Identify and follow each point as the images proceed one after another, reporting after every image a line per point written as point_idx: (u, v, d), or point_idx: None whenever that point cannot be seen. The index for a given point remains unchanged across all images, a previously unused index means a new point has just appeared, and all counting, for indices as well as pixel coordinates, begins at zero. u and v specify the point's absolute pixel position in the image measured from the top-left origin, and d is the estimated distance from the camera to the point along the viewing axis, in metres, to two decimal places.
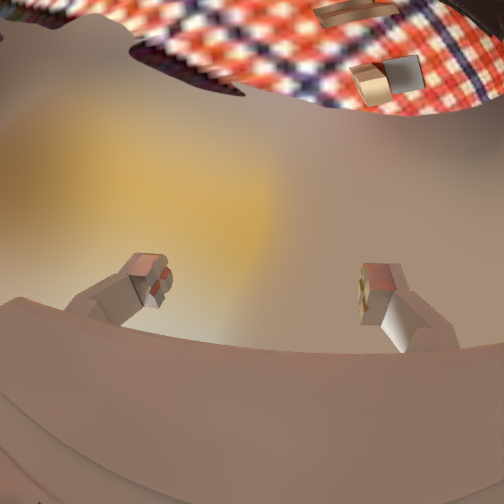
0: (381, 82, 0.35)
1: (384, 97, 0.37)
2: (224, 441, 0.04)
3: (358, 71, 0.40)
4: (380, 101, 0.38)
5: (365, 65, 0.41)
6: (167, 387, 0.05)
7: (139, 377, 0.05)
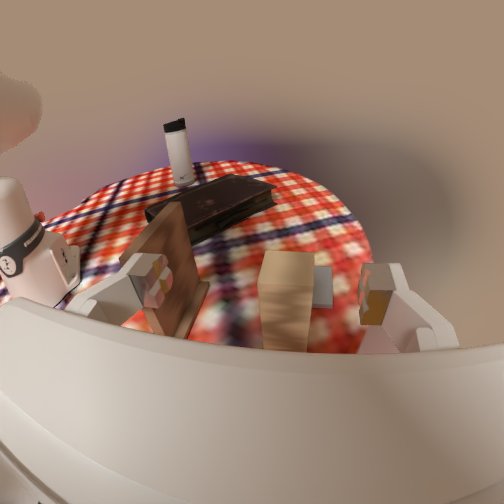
0: (273, 257, 0.27)
1: (302, 260, 0.26)
2: (224, 441, 0.04)
3: None
4: (308, 267, 0.26)
5: None
6: (167, 387, 0.05)
7: (139, 377, 0.05)
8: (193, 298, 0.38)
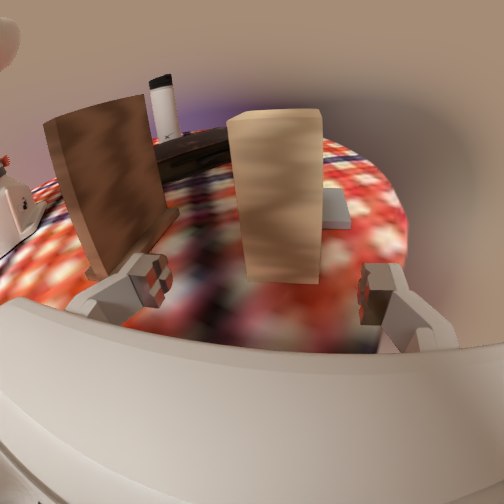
0: (256, 111, 0.16)
1: (301, 110, 0.15)
2: (224, 442, 0.04)
3: None
4: (311, 112, 0.14)
5: None
6: (167, 387, 0.05)
7: (139, 377, 0.05)
8: (154, 224, 0.27)
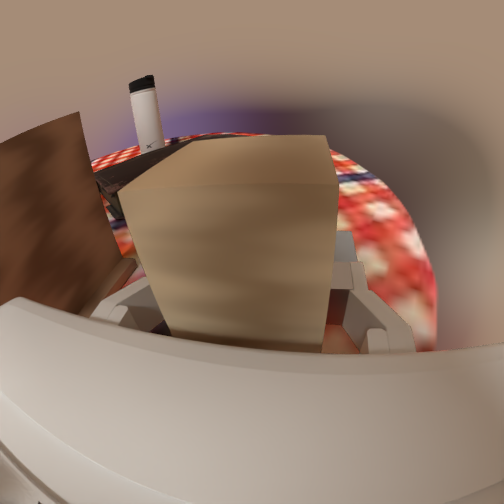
0: (204, 145, 0.09)
1: (292, 143, 0.08)
2: (224, 442, 0.04)
3: None
4: (312, 150, 0.07)
5: None
6: (168, 387, 0.05)
7: (139, 377, 0.05)
8: (102, 285, 0.19)
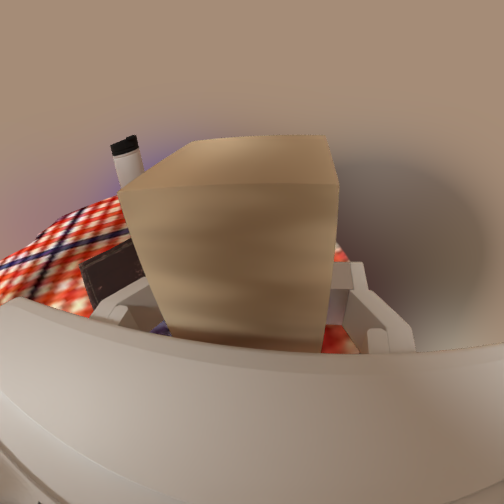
0: (204, 145, 0.09)
1: (292, 143, 0.08)
2: (224, 441, 0.04)
3: None
4: (312, 150, 0.07)
5: None
6: (167, 387, 0.05)
7: (139, 377, 0.05)
8: None
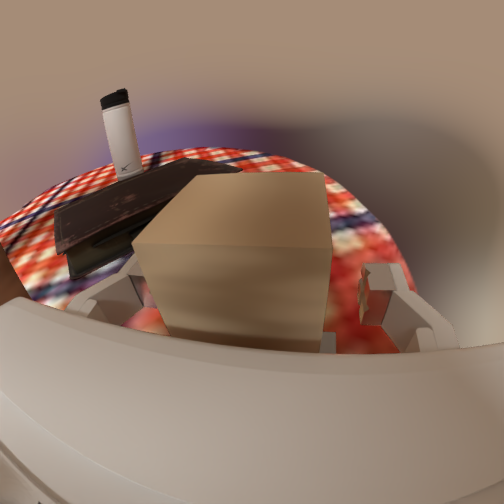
0: (208, 184, 0.10)
1: (291, 185, 0.09)
2: (224, 441, 0.04)
3: None
4: (310, 198, 0.08)
5: None
6: (167, 387, 0.05)
7: (139, 377, 0.05)
8: None
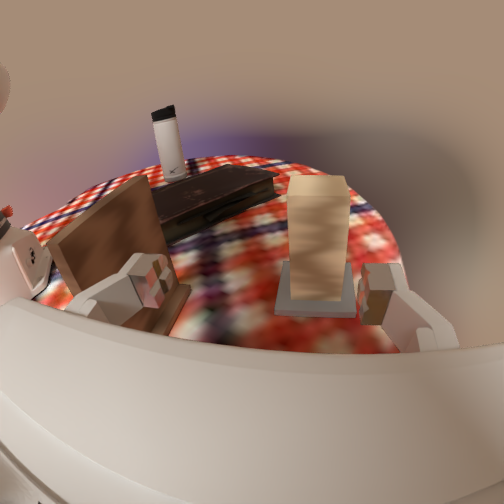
0: (300, 179, 0.24)
1: (333, 180, 0.23)
2: (224, 442, 0.04)
3: None
4: (341, 184, 0.22)
5: None
6: (167, 387, 0.05)
7: (139, 377, 0.05)
8: (168, 306, 0.28)
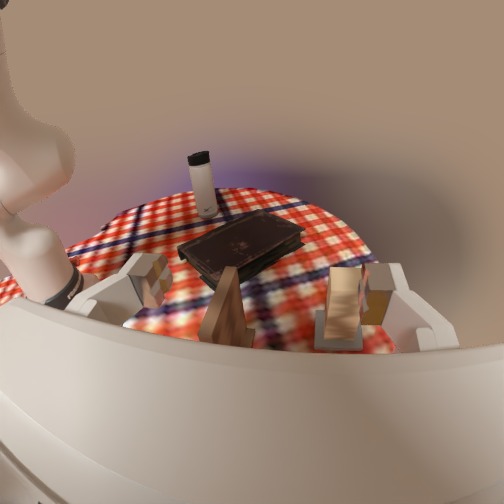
0: (336, 272, 0.38)
1: (356, 274, 0.37)
2: (224, 441, 0.04)
3: (326, 316, 0.40)
4: None
5: (324, 318, 0.43)
6: (167, 387, 0.05)
7: (139, 377, 0.05)
8: (243, 345, 0.42)
